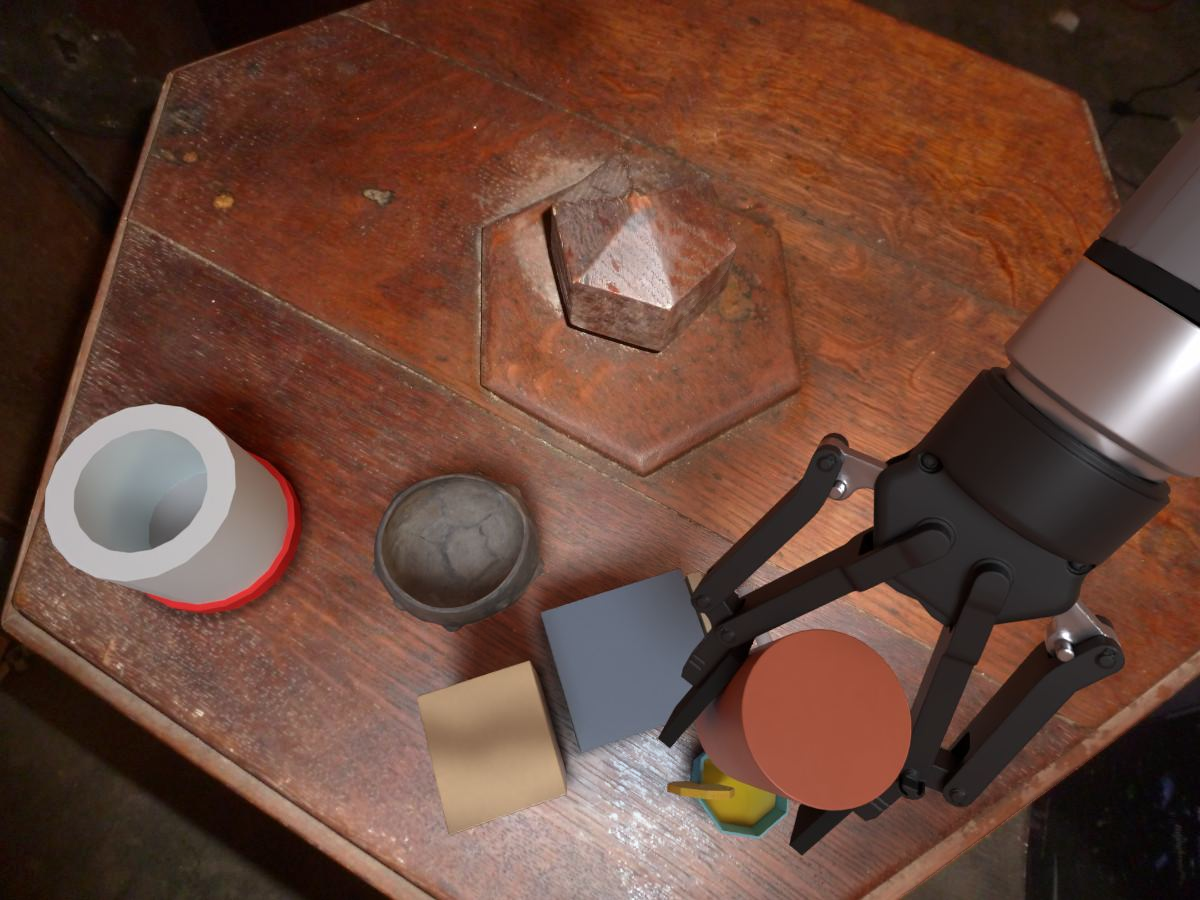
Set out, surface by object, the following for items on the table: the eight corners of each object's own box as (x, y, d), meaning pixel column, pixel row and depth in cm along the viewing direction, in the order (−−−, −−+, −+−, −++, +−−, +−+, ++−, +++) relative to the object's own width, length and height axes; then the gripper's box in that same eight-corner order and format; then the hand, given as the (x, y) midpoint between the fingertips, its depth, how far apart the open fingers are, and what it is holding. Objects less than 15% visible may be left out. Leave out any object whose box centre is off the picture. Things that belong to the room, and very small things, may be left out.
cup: (787, 711, 72) (841, 709, 58) (813, 799, 70) (877, 819, 56) (643, 749, 71) (663, 756, 57) (665, 840, 68) (692, 871, 54)
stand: (566, 774, 70) (567, 794, 51) (480, 804, 69) (448, 836, 50) (538, 675, 72) (529, 659, 54) (455, 702, 71) (416, 696, 52)
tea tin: (840, 759, 42) (941, 773, 31) (723, 805, 41) (782, 837, 30) (789, 635, 44) (866, 606, 33) (676, 676, 43) (715, 660, 32)
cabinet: (666, 586, 76) (680, 567, 67) (707, 704, 72) (728, 702, 63) (543, 625, 74) (540, 612, 65) (579, 748, 71) (581, 753, 61)
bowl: (565, 592, 75) (565, 573, 66) (416, 663, 72) (393, 655, 63) (507, 468, 79) (499, 434, 70) (363, 531, 76) (335, 505, 67)
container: (147, 455, 78) (57, 398, 64) (309, 452, 79) (254, 395, 65) (120, 616, 73) (15, 592, 59) (293, 611, 73) (230, 587, 60)
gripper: (1306, 547, 29) (912, 857, 40) (859, 259, 33) (605, 616, 43) (1407, 648, 23) (903, 987, 33) (834, 275, 26) (543, 691, 37)
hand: (735, 777), depth 38 cm, fingers closed on tea tin, 7 cm apart
